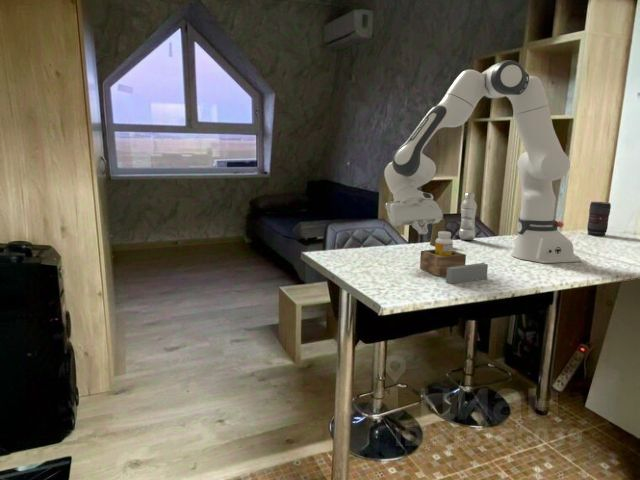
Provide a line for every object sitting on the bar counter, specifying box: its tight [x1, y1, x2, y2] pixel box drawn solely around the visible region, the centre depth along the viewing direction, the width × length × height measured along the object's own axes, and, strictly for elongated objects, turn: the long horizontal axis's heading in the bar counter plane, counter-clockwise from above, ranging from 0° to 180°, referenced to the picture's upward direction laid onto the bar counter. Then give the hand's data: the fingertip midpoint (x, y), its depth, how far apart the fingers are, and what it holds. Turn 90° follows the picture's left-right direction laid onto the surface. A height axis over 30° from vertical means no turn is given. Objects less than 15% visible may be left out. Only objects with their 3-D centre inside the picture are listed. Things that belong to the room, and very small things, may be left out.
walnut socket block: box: [419, 248, 467, 277], centre depth 151 cm, size 10×10×6 cm
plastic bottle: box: [458, 192, 478, 241], centre depth 198 cm, size 6×7×20 cm
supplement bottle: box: [434, 230, 454, 256], centre depth 150 cm, size 5×5×10 cm
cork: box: [429, 218, 446, 247], centre depth 189 cm, size 6×6×11 cm
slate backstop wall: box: [445, 262, 489, 285], centre depth 141 cm, size 2×14×4 cm, turn 115°
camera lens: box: [586, 201, 612, 237], centre depth 211 cm, size 8×8×15 cm
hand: (424, 233), depth 158 cm, fingers closed
